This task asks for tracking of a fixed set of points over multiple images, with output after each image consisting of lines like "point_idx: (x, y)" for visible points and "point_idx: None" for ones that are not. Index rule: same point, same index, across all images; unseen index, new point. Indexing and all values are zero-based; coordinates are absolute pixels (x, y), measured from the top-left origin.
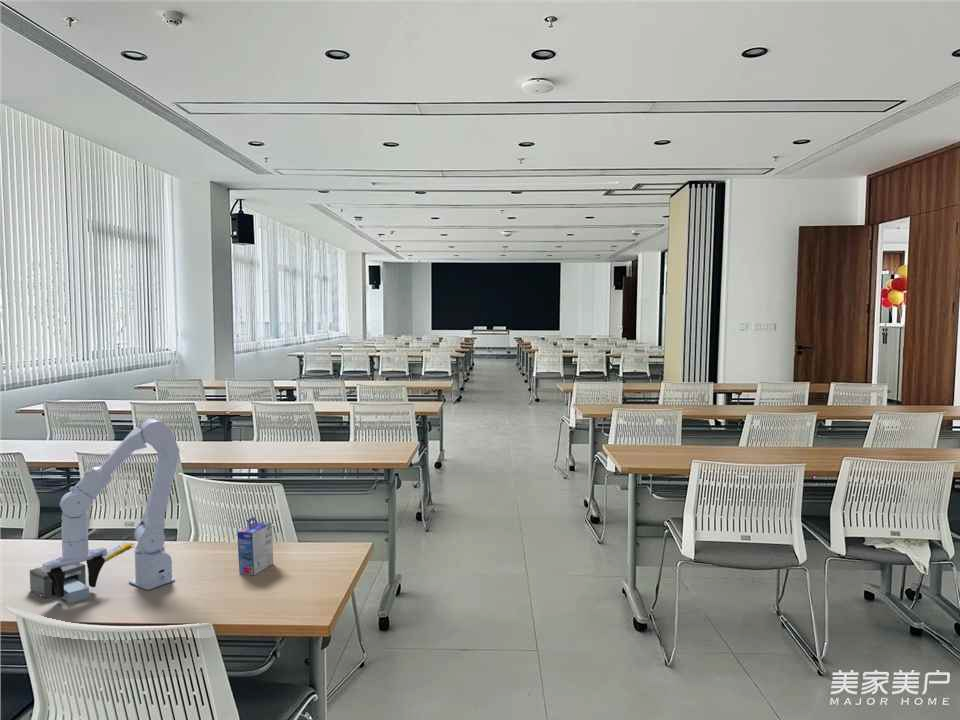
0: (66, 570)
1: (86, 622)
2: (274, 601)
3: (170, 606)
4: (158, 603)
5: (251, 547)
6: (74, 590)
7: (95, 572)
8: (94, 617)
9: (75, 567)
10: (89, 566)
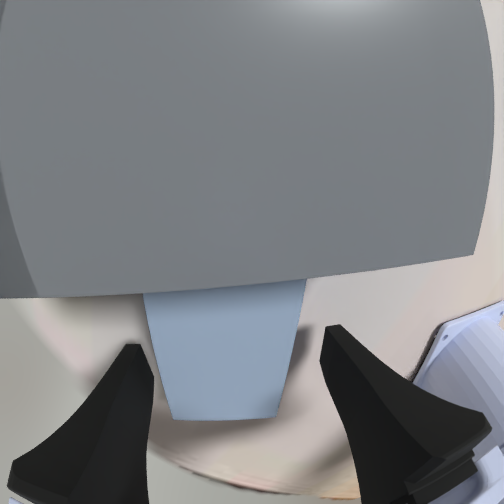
0: (248, 284)
1: (184, 469)
2: None
3: (337, 469)
4: (340, 459)
5: None
6: (205, 412)
7: (353, 446)
8: (207, 464)
9: (389, 259)
10: (384, 438)
